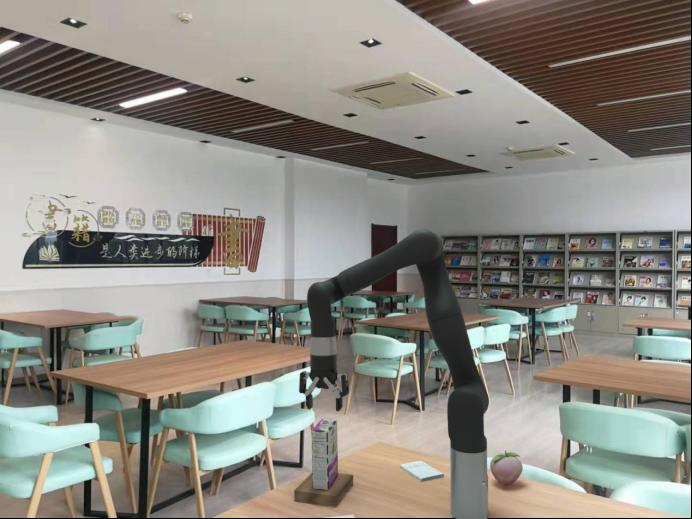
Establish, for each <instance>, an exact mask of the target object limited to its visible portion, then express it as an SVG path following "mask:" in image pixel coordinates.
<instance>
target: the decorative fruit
mask: <svg viewBox="0 0 692 519" xmlns="http://www.w3.org/2000/svg"><path fill="white" fill-rule="evenodd" d="M518 457H519V458H521V455H519V454H518V453H516V452H513V451H512V452H511V451H509V452H507V450H505V451H504V452H502V453H497V454H495V455H494V456H493V457H492V458H491V459H490V463H489V468H490V472H491V474H492V476H493V478H494V479H495V480H496V481H497V482H498V483H500V484H503V485H504V486H508V485H511V484H513V483H514V482H517V480H518V479H519V478H520V476H521V475H522V473H523V466H524V465H523V463H522V461H521V460H520V459H519V458H518Z"/></svg>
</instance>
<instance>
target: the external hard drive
mask: <svg viewBox="0 0 692 519" xmlns="http://www.w3.org/2000/svg"><path fill="white" fill-rule="evenodd" d="M399 468H400V469H401V470H403V471H404V472H406V473H407V474H409V475H410V476H412V477H414V478H415V479H416V480H418V481H419V482H421V483H422V482H426V481H427V482H428V481H432V480H436V479H441V478H445V474H444V473H443V472H441V471H439V470H438V469H436V468H434V467H432V466H431V465H429V464H428V463H425V462H424V461H422V460H416V461H411V462H406V463H401V464H400V465H399Z"/></svg>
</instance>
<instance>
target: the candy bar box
mask: <svg viewBox="0 0 692 519" xmlns="http://www.w3.org/2000/svg"><path fill="white" fill-rule="evenodd" d="M338 450H339V449H338V419H335V418H321V419H320V420H319V421H318V423H317V424H316V425H315V426H314V427H313V428H312V429H311V456H312V457H311V464H312V466H311V467H312V468H311V470H312V471H311V473H312V477H313V489H316V490H329V489H330V488H331V486H332V484H333V482H334V481H335V479H336V477H337V476H338V473H339V463H338V462H339V458H338V456H339V455H338V454H339V453H338Z"/></svg>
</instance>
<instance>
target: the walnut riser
mask: <svg viewBox="0 0 692 519" xmlns="http://www.w3.org/2000/svg"><path fill="white" fill-rule="evenodd" d="M353 486H354V474H350V473H349V474H348V473H342V472H338V476H337V477H336V479H335V481H334V482H333V484H332V486H331V488H330V489H329V490H316V489H313V477H312V472H311V473H310V475H308V476H307V477H306V478H305V479H304V480H303V481H302V482H301V483H300V484H299V485H298V486H297V487H296V488H295V489H294V490H293V492H294V494H293V496H294V497H293V498H294V502H297V503H304V504H309V505H316V506H323V507H329V508H331V507H332V508H337V507H338V505H339V504H340V503H341V501H342V500H343V499H344V498H345V496H346V495H347V494H348V493H349V491H350V490H351V489H352V487H353ZM350 488H351V489H350ZM349 489H350V490H349ZM346 493H347V494H346ZM343 497H344V498H343ZM342 498H343V499H342ZM339 502H340V503H339Z"/></svg>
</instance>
